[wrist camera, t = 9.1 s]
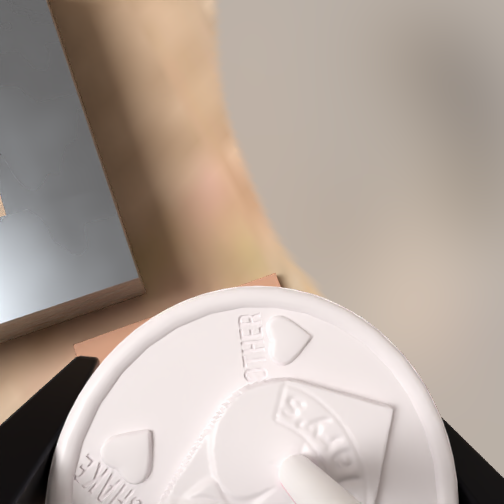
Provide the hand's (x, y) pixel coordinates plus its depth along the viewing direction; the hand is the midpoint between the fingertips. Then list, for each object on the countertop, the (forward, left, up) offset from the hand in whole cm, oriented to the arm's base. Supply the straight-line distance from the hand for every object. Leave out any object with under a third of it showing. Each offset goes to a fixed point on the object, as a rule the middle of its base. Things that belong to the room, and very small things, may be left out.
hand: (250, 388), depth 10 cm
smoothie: (-1, 0, -7) cm, 8 cm away
